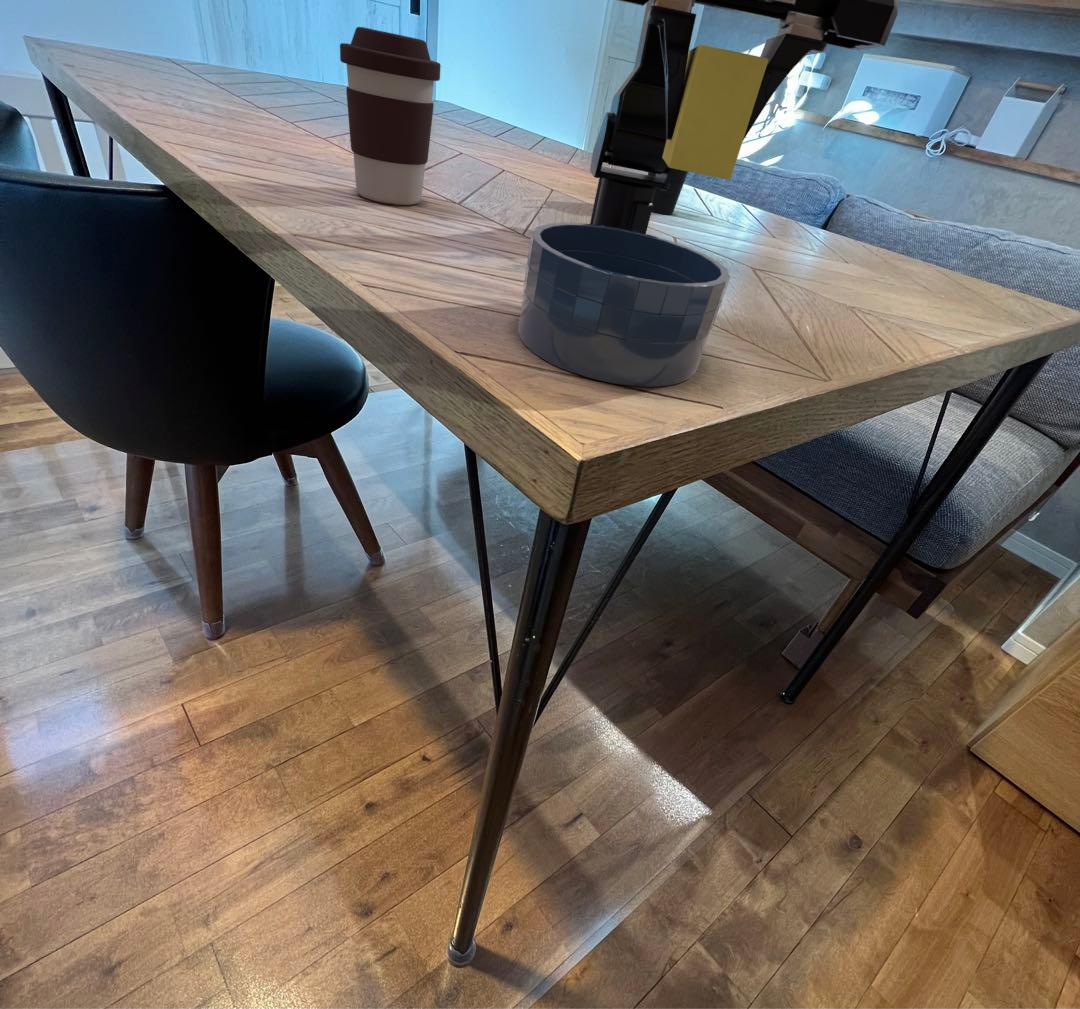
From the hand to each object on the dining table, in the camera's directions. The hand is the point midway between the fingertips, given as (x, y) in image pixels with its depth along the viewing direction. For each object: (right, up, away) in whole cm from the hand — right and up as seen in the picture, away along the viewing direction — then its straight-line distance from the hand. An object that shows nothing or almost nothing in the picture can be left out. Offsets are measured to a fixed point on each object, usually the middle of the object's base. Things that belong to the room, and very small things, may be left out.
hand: (700, 145), depth 44 cm
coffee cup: (-29, +8, +24) cm, 39 cm away
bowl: (-7, -15, -1) cm, 17 cm away
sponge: (0, -1, +1) cm, 2 cm away
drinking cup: (+6, +19, +48) cm, 52 cm away
